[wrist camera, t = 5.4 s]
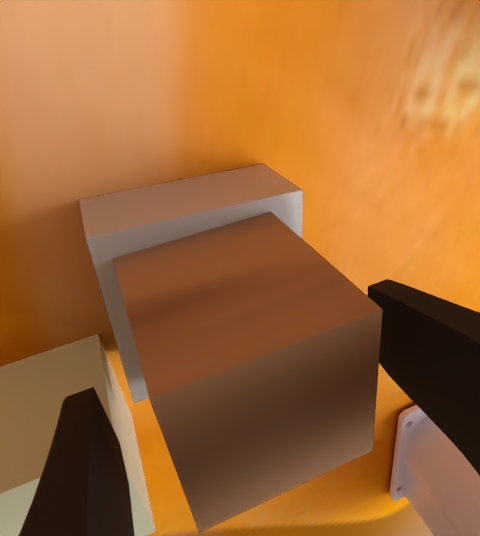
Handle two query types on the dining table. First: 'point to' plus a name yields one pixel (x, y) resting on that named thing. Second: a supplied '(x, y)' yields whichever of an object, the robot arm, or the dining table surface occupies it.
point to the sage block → (45, 421)
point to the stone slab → (174, 230)
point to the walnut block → (252, 361)
